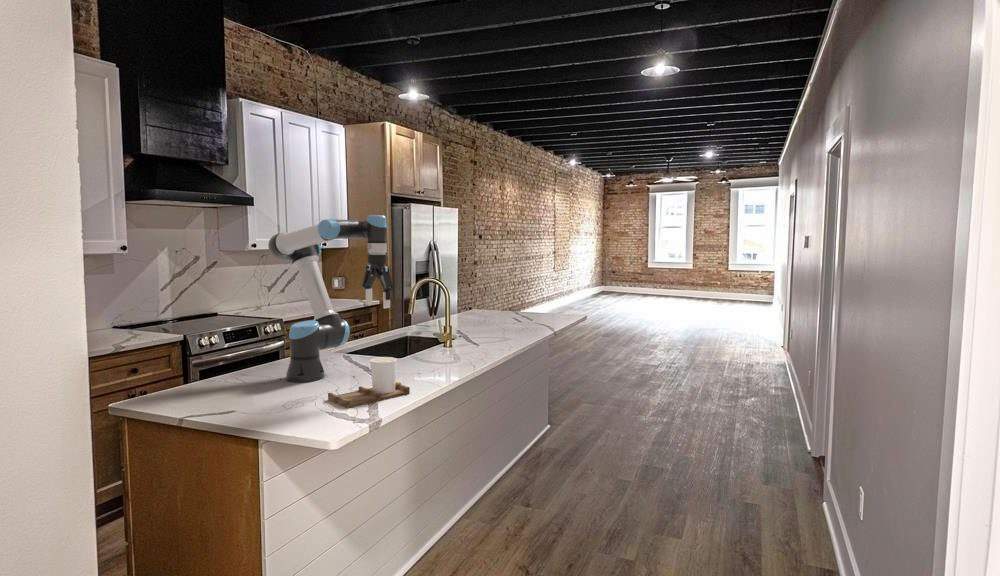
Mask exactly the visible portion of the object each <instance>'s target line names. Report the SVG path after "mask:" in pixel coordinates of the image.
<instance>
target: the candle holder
mask: <svg viewBox="0 0 1000 576" xmlns="http://www.w3.org/2000/svg"><path fill="white" fill-rule="evenodd" d="M397 360H398V359H397V358H396V357H393V356H379V357H378V356H377V357H374V358H371V359H370V360H369V362H370V374H371V386H372V387H371V388H373V391H375V392H378V393H381V394H387V393H392V392H394V391H395V385H396V382H397V381H396V379H397Z"/></svg>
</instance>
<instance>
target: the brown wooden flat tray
mask: <svg viewBox="0 0 1000 576" xmlns="http://www.w3.org/2000/svg"><path fill="white" fill-rule="evenodd" d="M410 389H411V387H410V386H407V385H404V384H402V382H401V381H396V385H395V391H394V392H392V393H387V394H381V393H378V392H375V391H373V388H372V387H369V388H368V387H365V386H361V385H360V386H358V390H355V391H350V392H346V393H342V394H336V393H335V394H334V393H332V392H327V400H328V401H330V402H332V403H335V404H337V405H339V406H342V407H344V408H346V409H350V408H354V407H359V406H364V405H368V404H372V403H375V402H380V401H384V400H389V399H393V398H396V397H403V396H405V395H410V393H411V392H410Z"/></svg>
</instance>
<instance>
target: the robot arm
mask: <svg viewBox="0 0 1000 576" xmlns="http://www.w3.org/2000/svg"><path fill="white" fill-rule="evenodd" d="M387 224H388V223H387V217H386V216H385V215H381V214H378V215H377V214H369V215H367V217H366V219H365V220H364V219H335V218H327V219H322V220H320V222H319V223H317V224H314V225H311V226H307V227H304V228H301V229H298V230H295V231H292V232H285V231H284V232H283V231H282V232H280V233H276V234H274V235H273V236H272V237H270V239H269V240H268V244H267V245H268V246H267V247H268V250H269V252H270V254H271V255H272V256H273V257H275V258H276V259H277V260H282V261H284V260H286V261H289V260H290V261H291V264H292V266H293V267H294V268H297V270H298V272H299V276H300V279H301V281H302V285H303V287H304V288H303V289H304V291H305V293H306V297H307V299H308V300H307V301H308V303H309V305H310V306H309V307H310V308H311V311H312V313H313V314H312V315H313V317H314V318H313V320H310V319H309V320H303V321H298V322H296V323H293V324H291V326H289V334H288V338H289V356H290V357H289V359H290V360H289V363H288V367H287V370H286V373H285V375H286V381H288V382H293V383H305V382H314V381H318V380H321V379H323V378H325V369H324V366H323V364H322V361H321V359H320V358H321V357H320V356H321V355H320V354H321V353H320V351H322V350H327V349H331V348H332V349H333V348H338V347H341V346H343V345H345V344H347V342H348V340H349V337H350V333H351V331H350V326H349V324H348V322H347V321H346V320H345V319H342V318H341V316H340V314H339V313H338V312H336V311H335V310H334V307H333V305H332V302H331V299H330V296H329V294H328V290H327V288H326V285H325V284H326V283H325V282H324V279H323V276H322V273H321V270H320V267H319V264H318V262H319V260H320V255H321V253H322V245H321V244H322V243H326V242H329V241H333V240H339V239H341V240H342V239H343V240H344V239H346V240H349V239H351V240H352V239H355V240H357V239H359V240H360V239H361V240H362V239H363V240H367V246H366V247H367V253H368V254H367V263H368V264H366V266H365V272H364V276H363V279H362V283H361V286H362V287H363V288H364V290H365V305H366V306H369V305H373V284H374V282H375V280H376V279H379V282H380V283H381V286H382V289H383V291H382V302H383V303H382V304H383V307H382V308H383V309H390V308H391V292H393V291H395V288H394V283H393V280H392V277H391V273H390V266H385V264H387V262H388V257H387V254H386V253H388V251H387V250H388V248H387V247H388V246H387V236H388V235H387V228H388V225H387Z"/></svg>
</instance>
